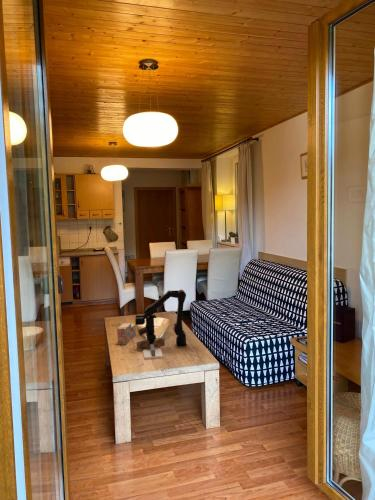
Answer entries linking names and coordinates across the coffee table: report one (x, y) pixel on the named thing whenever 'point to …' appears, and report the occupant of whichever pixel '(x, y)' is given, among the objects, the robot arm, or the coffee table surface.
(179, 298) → the robot arm
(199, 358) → the coffee table surface
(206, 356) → the coffee table surface
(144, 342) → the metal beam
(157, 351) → the fulcrum
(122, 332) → the stack of blocks
